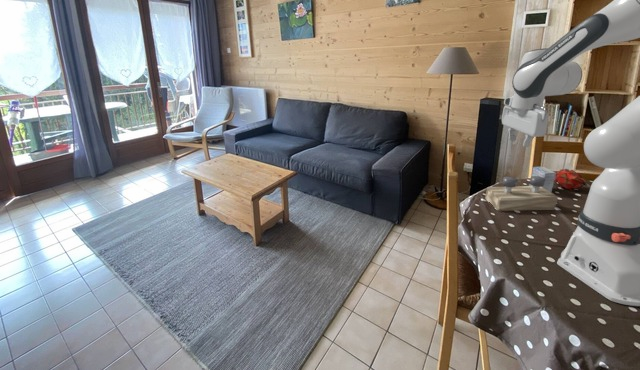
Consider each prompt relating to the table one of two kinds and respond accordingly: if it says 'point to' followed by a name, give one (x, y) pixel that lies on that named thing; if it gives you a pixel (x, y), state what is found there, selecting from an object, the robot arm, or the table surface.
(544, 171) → the medicine box
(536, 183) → the knob right
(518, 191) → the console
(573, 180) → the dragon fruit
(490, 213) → the table surface
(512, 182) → the knob left
